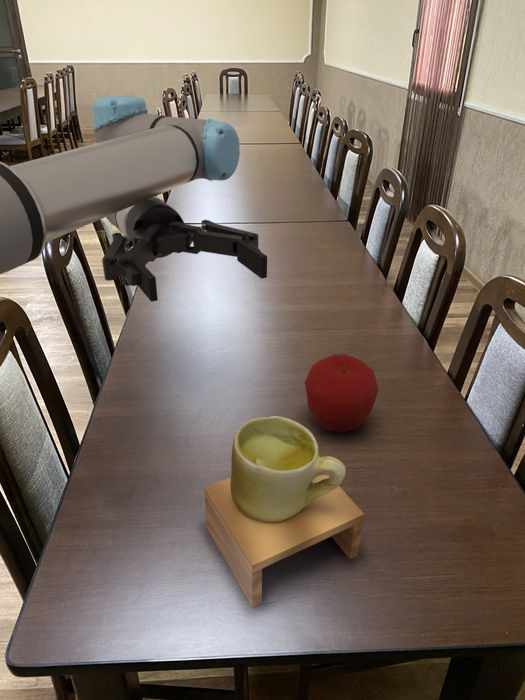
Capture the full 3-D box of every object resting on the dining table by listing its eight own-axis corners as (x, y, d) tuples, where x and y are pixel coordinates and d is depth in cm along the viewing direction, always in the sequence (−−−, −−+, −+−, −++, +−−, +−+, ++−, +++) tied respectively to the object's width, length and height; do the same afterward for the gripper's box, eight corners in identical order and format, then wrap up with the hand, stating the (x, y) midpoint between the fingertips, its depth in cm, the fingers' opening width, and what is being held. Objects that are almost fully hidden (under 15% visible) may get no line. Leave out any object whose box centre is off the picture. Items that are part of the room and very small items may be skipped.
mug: (196, 499, 58) (225, 422, 55) (243, 466, 67) (270, 398, 64) (292, 566, 54) (330, 487, 50) (328, 521, 63) (362, 451, 59)
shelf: (252, 608, 57) (252, 565, 53) (206, 528, 66) (203, 487, 62) (358, 555, 63) (364, 513, 59) (303, 488, 72) (305, 448, 68)
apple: (299, 403, 88) (303, 341, 82) (364, 402, 88) (372, 341, 82) (306, 448, 79) (310, 382, 72) (379, 447, 79) (389, 381, 73)
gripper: (230, 237, 83) (303, 287, 68) (65, 264, 73) (105, 332, 57) (229, 188, 80) (306, 229, 64) (54, 210, 69) (94, 266, 53)
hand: (211, 278), depth 60 cm, fingers open, 13 cm apart
